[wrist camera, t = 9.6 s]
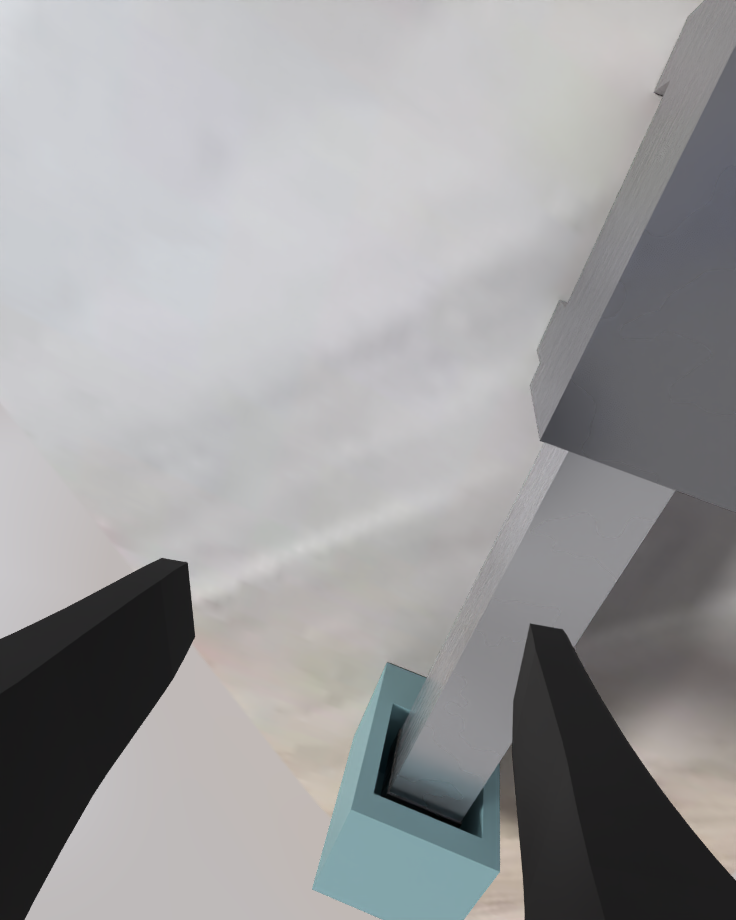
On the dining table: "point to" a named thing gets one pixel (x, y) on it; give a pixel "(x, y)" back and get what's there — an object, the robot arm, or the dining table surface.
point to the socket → (403, 829)
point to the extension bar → (516, 623)
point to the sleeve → (660, 292)
